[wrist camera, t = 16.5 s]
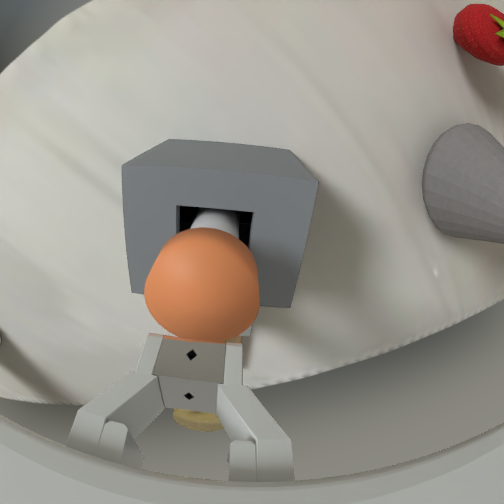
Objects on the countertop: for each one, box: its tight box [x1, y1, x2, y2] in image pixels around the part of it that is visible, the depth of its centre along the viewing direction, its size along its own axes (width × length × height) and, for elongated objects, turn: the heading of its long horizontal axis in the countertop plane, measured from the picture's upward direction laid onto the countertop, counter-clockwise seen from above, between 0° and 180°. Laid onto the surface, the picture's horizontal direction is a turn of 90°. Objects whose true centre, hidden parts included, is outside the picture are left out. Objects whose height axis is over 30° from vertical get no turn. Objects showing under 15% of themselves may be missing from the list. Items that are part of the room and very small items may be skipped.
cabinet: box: [122, 139, 319, 308], centre depth 20 cm, size 11×8×10 cm
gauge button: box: [144, 207, 260, 342], centre depth 16 cm, size 5×5×11 cm
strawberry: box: [453, 4, 504, 66], centre depth 12 cm, size 6×8×10 cm
